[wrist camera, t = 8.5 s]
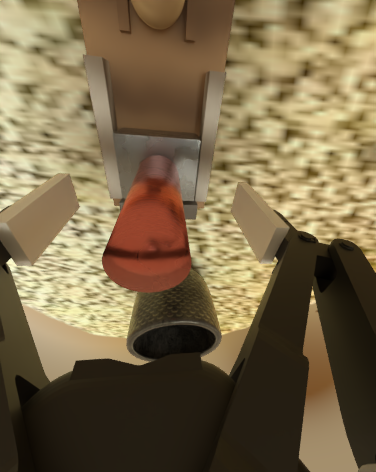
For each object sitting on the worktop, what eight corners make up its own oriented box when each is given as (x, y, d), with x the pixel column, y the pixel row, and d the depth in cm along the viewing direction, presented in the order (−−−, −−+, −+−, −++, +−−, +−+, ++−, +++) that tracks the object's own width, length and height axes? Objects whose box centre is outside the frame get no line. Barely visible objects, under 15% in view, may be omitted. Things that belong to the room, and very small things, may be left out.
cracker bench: (57, -165, 11) (-149, -658, 4) (245, -115, 12) (352, -405, 5) (117, 198, 25) (98, 238, 18) (201, 201, 27) (213, 239, 20)
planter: (128, 288, 38) (114, 360, 27) (153, 241, 31) (146, 313, 20) (187, 301, 42) (193, 366, 32) (220, 263, 35) (241, 330, 25)
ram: (121, 127, 18) (21, 191, 6) (195, 133, 19) (248, 199, 7) (128, 184, 22) (76, 300, 9) (190, 186, 23) (218, 295, 10)
